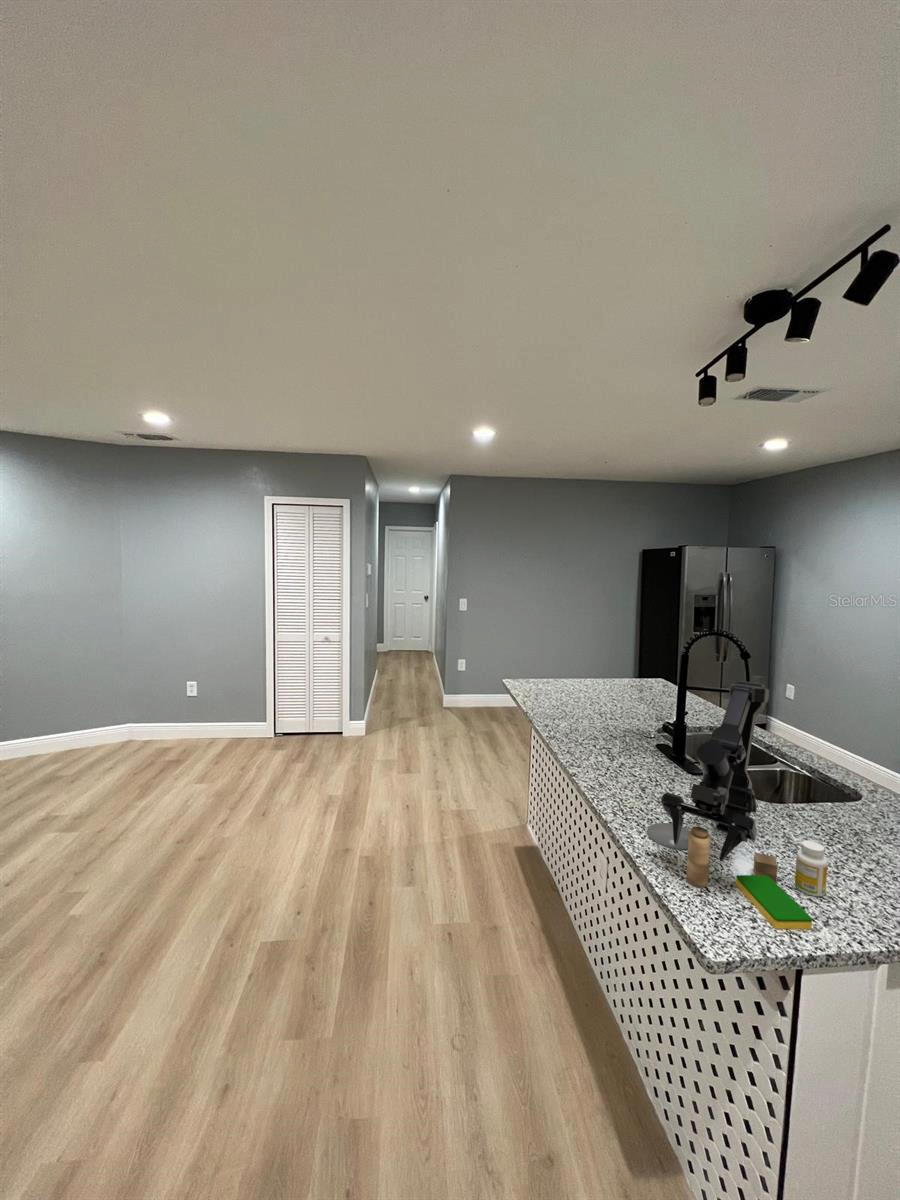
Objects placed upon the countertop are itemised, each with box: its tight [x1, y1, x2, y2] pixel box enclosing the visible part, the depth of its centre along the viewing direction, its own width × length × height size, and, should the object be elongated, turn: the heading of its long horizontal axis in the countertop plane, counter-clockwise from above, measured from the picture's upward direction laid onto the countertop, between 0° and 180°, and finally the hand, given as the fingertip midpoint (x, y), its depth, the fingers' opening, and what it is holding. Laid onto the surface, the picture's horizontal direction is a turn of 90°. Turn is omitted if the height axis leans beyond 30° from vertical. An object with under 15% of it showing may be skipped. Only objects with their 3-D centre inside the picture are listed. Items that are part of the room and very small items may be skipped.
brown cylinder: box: [686, 826, 712, 888], centre depth 112 cm, size 4×4×12 cm
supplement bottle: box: [794, 840, 828, 897], centre depth 110 cm, size 5×5×10 cm
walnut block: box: [753, 851, 778, 884], centre depth 115 cm, size 4×4×4 cm
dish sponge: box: [735, 874, 813, 930], centre depth 105 cm, size 7×14×2 cm, turn 1°
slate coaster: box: [646, 822, 691, 851], centre depth 131 cm, size 12×12×1 cm
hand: (697, 852), depth 112 cm, fingers open, 9 cm apart
